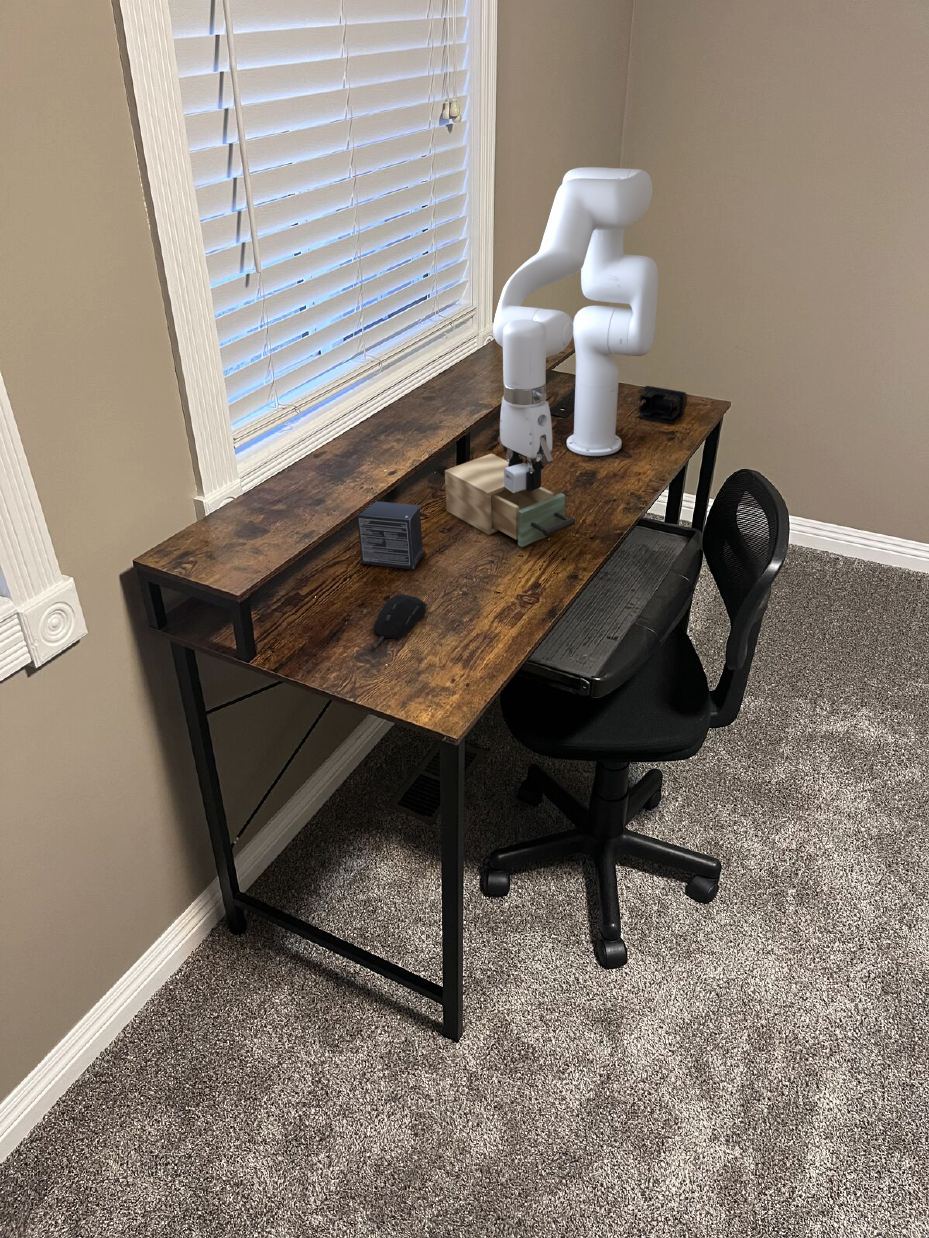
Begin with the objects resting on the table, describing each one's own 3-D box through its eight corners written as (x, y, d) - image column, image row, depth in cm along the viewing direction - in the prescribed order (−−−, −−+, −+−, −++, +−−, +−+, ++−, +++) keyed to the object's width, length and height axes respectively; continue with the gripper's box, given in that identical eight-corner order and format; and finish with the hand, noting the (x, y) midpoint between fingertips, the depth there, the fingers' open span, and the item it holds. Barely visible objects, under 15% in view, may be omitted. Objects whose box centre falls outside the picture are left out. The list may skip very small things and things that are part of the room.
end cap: (685, 415, 227) (688, 388, 223) (674, 425, 222) (677, 398, 219) (648, 408, 232) (650, 382, 228) (636, 417, 227) (638, 391, 223)
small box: (425, 553, 175) (421, 503, 169) (414, 570, 170) (410, 520, 164) (372, 547, 178) (367, 498, 172) (360, 564, 172) (354, 514, 167)
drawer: (582, 538, 176) (583, 503, 172) (539, 557, 171) (539, 522, 167) (521, 507, 188) (521, 474, 184) (480, 523, 182) (479, 490, 178)
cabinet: (535, 515, 186) (535, 474, 181) (488, 535, 180) (487, 492, 175) (492, 493, 195) (491, 453, 190) (446, 511, 189) (444, 470, 184)
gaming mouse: (357, 645, 151) (354, 624, 149) (400, 599, 162) (398, 580, 160) (391, 653, 149) (389, 633, 146) (432, 606, 160) (431, 587, 157)
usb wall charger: (503, 486, 176) (503, 467, 173) (534, 477, 178) (534, 458, 176) (514, 494, 173) (514, 474, 171) (545, 485, 176) (546, 465, 173)
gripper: (572, 399, 162) (569, 493, 172) (509, 375, 173) (510, 465, 183) (540, 411, 158) (539, 506, 168) (478, 385, 169) (481, 476, 179)
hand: (524, 483), depth 176 cm, fingers closed on usb wall charger, 4 cm apart
